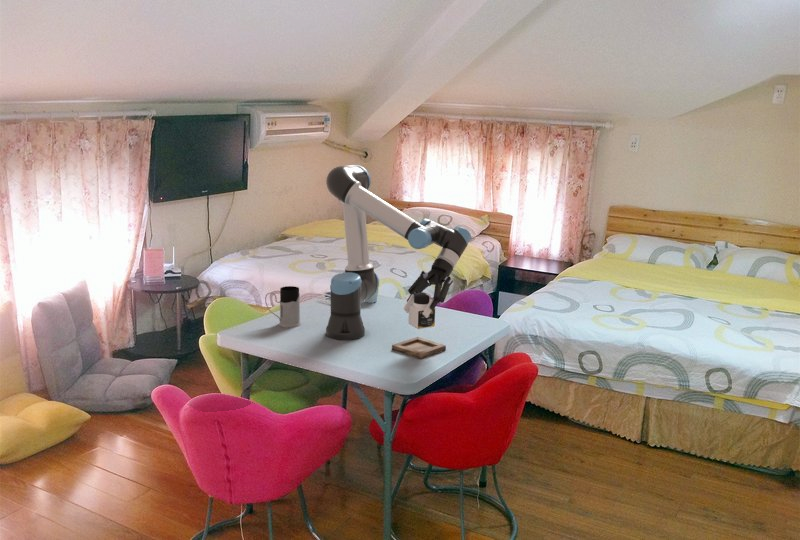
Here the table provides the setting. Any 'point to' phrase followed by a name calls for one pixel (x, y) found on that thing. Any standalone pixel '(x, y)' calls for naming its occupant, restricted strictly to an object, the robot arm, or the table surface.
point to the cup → (372, 298)
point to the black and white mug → (288, 306)
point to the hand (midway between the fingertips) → (415, 313)
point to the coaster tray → (418, 347)
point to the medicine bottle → (418, 308)
